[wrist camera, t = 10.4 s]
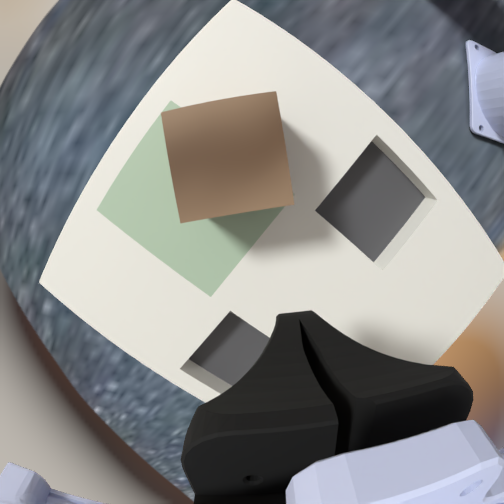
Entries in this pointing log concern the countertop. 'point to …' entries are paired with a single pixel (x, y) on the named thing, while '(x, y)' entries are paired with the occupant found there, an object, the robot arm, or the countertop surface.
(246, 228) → the board
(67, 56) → the countertop surface
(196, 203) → the walnut block
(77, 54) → the countertop surface
